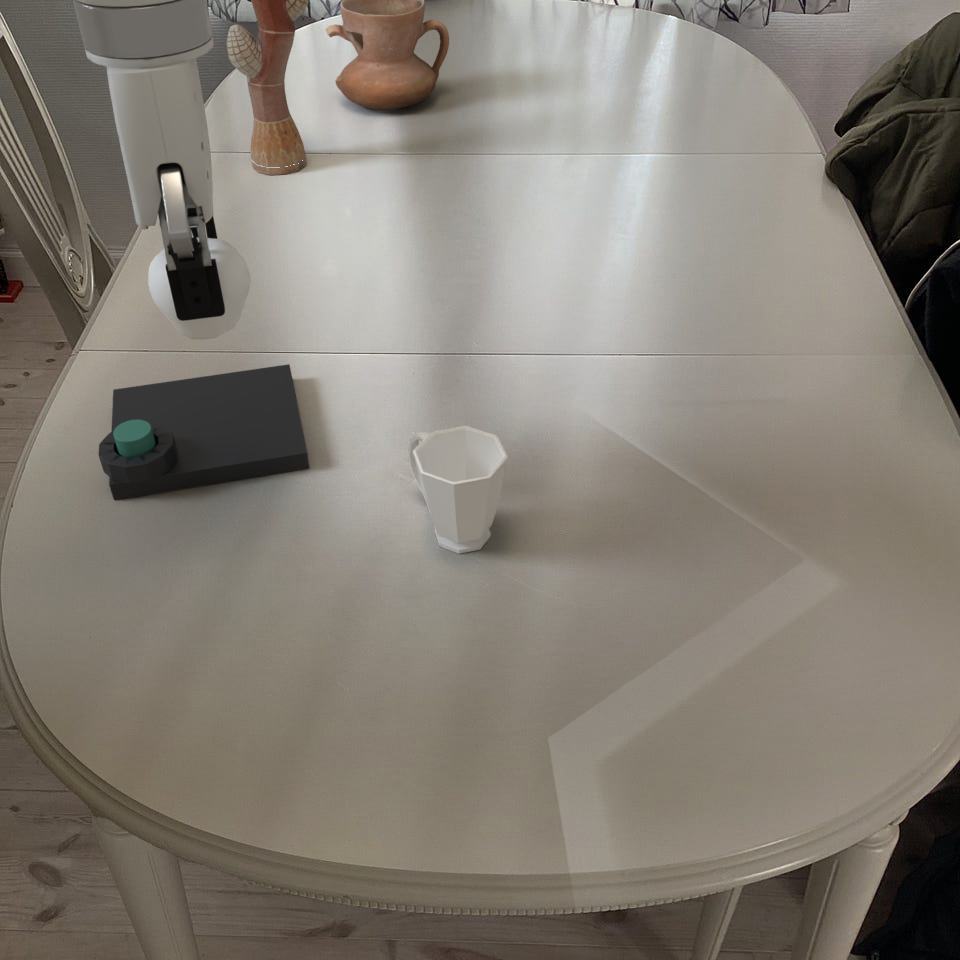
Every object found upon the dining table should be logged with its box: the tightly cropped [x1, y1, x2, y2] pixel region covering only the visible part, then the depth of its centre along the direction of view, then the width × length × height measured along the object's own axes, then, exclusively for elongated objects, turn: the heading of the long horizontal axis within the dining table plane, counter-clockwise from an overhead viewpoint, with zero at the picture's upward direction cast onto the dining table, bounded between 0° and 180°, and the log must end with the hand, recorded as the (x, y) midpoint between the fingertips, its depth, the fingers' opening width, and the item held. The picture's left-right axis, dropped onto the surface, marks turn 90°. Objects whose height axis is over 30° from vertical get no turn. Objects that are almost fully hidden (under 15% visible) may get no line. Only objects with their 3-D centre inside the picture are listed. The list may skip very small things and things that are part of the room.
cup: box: [407, 425, 509, 555], centre depth 78 cm, size 7×10×8 cm
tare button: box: [113, 420, 156, 458], centre depth 83 cm, size 3×3×2 cm
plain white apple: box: [147, 229, 252, 341], centre depth 71 cm, size 7×7×8 cm
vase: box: [226, 0, 309, 176], centre depth 127 cm, size 10×7×30 cm
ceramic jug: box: [325, 0, 450, 110], centre depth 150 cm, size 18×14×14 cm
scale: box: [98, 363, 310, 501], centre depth 88 cm, size 16×14×4 cm
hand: (200, 287), depth 72 cm, fingers closed on plain white apple, 7 cm apart
